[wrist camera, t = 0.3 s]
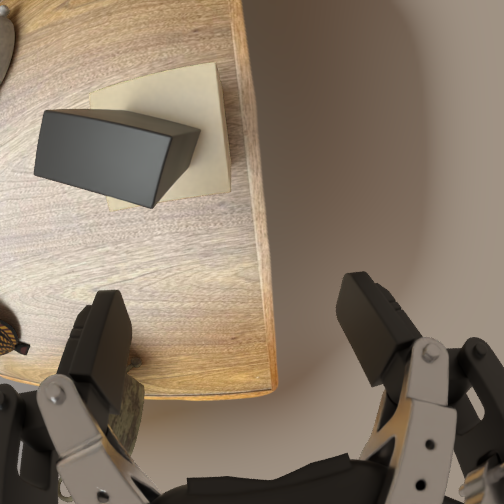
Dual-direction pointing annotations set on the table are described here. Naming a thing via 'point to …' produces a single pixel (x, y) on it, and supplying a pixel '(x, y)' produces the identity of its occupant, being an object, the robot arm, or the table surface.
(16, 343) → the decorative fish sculpture
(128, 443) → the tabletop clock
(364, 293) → the robot arm
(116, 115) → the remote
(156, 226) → the table surface
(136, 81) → the stand
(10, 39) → the dish
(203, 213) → the table surface
